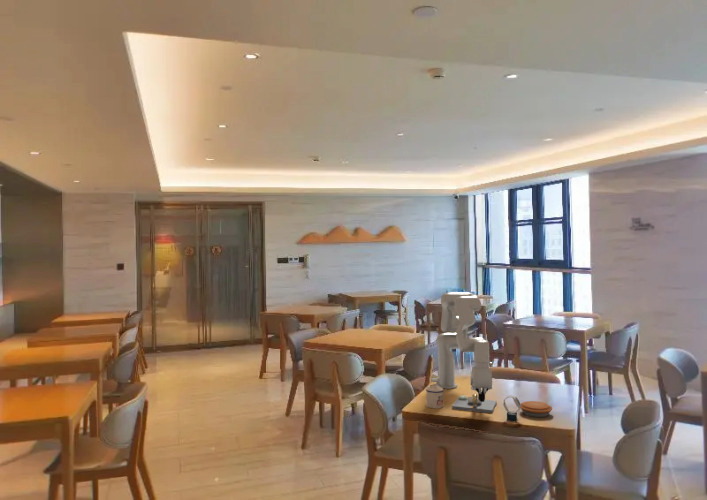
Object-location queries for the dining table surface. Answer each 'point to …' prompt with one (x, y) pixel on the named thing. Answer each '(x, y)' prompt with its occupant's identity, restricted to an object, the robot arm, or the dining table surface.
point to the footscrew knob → (474, 400)
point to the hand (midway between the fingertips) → (481, 401)
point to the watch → (512, 414)
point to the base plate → (464, 405)
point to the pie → (535, 409)
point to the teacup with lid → (434, 396)
